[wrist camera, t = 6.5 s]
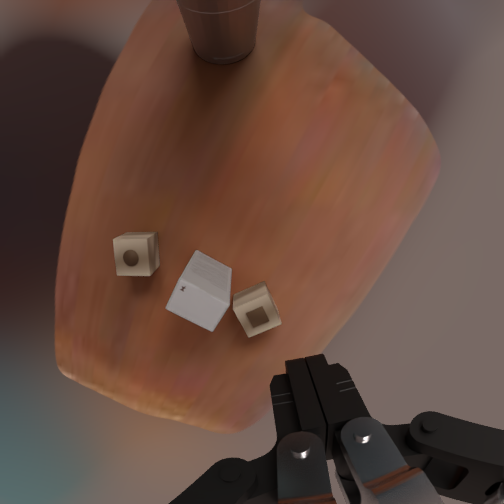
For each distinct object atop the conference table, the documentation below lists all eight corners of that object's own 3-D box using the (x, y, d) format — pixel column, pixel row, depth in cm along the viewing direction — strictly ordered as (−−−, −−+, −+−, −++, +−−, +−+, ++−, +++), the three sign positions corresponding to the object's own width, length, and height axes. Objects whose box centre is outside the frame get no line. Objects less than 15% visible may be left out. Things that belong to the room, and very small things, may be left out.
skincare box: (183, 273, 40) (162, 308, 29) (196, 248, 40) (179, 276, 28) (219, 292, 41) (212, 333, 30) (233, 268, 40) (231, 303, 29)
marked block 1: (126, 232, 39) (112, 239, 33) (157, 231, 39) (146, 239, 34) (129, 264, 40) (116, 276, 35) (160, 265, 40) (149, 276, 35)
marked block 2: (233, 294, 42) (232, 309, 36) (264, 280, 41) (267, 294, 36) (247, 320, 43) (248, 338, 38) (277, 308, 42) (282, 324, 37)
